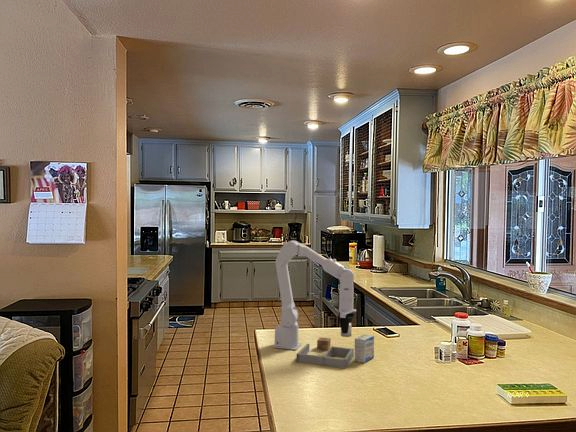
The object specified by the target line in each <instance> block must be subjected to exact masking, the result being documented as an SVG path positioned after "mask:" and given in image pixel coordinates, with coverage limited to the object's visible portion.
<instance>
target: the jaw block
mask: <svg viewBox="0 0 576 432" xmlns="http://www.w3.org/2000/svg"><path fill="white" fill-rule="evenodd" d="M331 343H332V342H331V337H321V336H320V337H319V338H318V339H317V341H316V350H318V351H326V352H328V350H329V349H330V348H331Z"/></svg>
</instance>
